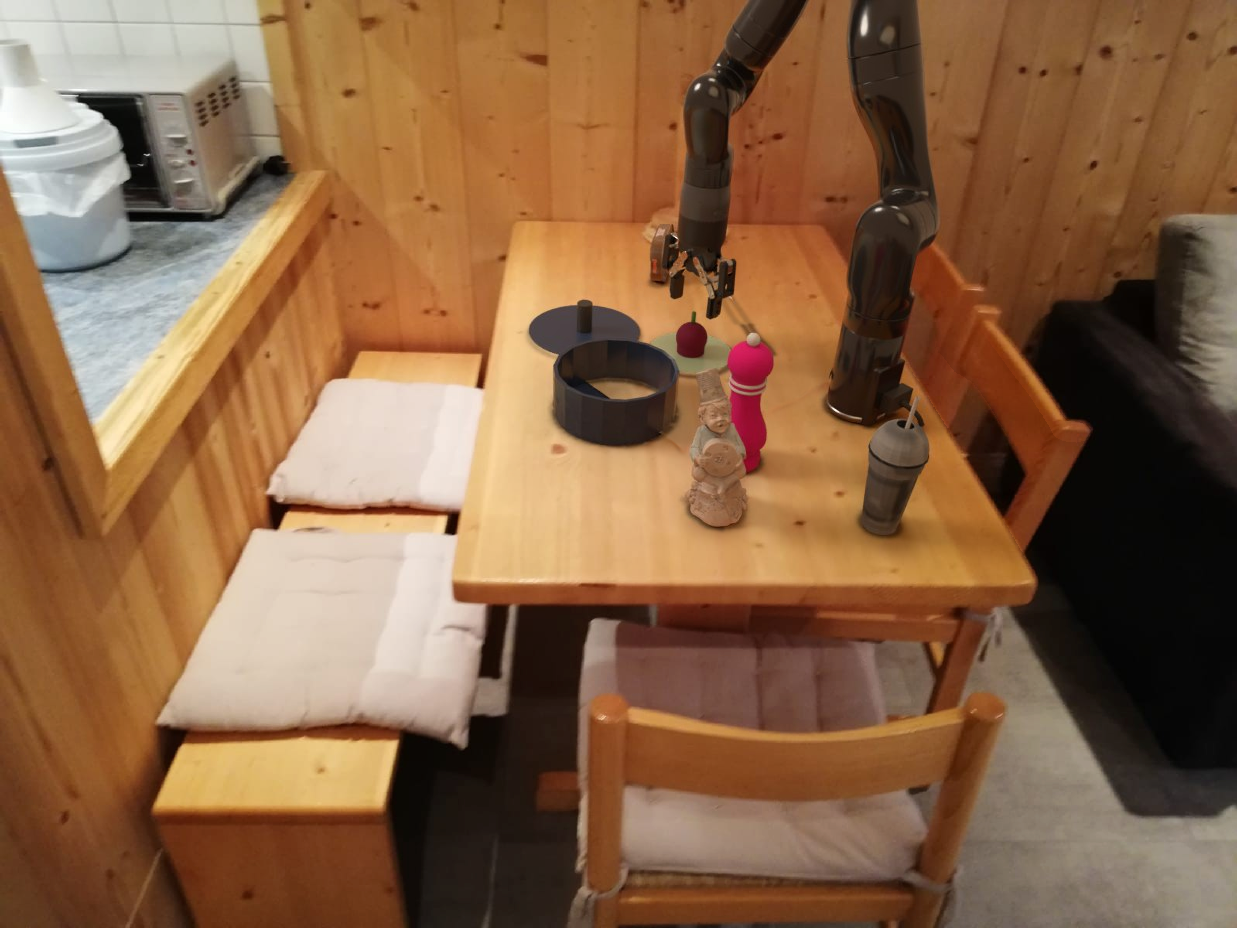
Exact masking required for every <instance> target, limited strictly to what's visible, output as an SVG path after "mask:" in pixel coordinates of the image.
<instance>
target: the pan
mask: <svg viewBox="0 0 1237 928" xmlns="http://www.w3.org/2000/svg"><path fill="white" fill-rule="evenodd" d="M600 379H625V380H629V381H630V380H631V381H636V382H639V383H643V384H645V385H646V386H649V387H651V388H654V389H655V390H658V391H655V392H653V393H650V394H649V395H645V396H639V397H633V398H627V399H624V398H611V397H609V396H608V395H607V394H605V393H603V392H602V391H601V390H599V389H598V388H596V387H595V386H593V385H591V384H590V383H589V382H588V381H595V380H600ZM552 381H553V382H552V389H553V390H552V394H553V397H552V401H553V402H552V404H553V405H552V406H553V415H554V418H555V420H556V422H557V424H559V426H560V427H561V428H562V429H564V431H565V432H567V433H568V434H570V435H571V436H573V437H576V438H577V439H580V440H581V441H586V442H589V443H593V444H597V445H603V446H613V447H614V446H618V447H619V446H621V447H622V446H631V445H638V444H642V443H646V442H649V441H652V440H654V439H656V438H659V437H660V436H662V435H663V433H662V432H664V430H666V429H667V428H668V427H669V426H670V425H671V424H672V423H673V422H674V420H675V415H676V412H677V404H678V392H679V381H680V371H679V368H678V366H677V364H676V361H675V359H673V358H672V357H671V356H670V355H669V354H667V353H666V352H665V351H664V350H662V349H660V348H657V347H655V346H653V345H651V343H648V342H645V341H641V340H637V341H635V340H631V339H619V338H603V339H596V340H588V341H585V342H582V343H579V344H576V345H573V346H571V347H569V348H568V349H566V350H565V351H563V352H562V353H561V354H559V355H558V354H557V356H556V358H555V361H554V363H553V365H552Z"/></svg>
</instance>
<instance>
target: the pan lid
mask: <svg viewBox="0 0 1237 928" xmlns="http://www.w3.org/2000/svg"><path fill="white" fill-rule="evenodd" d="M640 332H641V330H640V326H639V325H638V323H637V322H636V321H635V320H634V319H633V318H632V317H631V316H629V315H628V314H626V313H624V312H621V311H619V310H617V309H614V308H611V307H606V306H600V305H595V304H594V305H593V301H592V300H590V299H579V300H578V301H577V302H576V304H571V305H564V306H558V307H555V308H554V307H553V308H551V309H549V310H546V311H543V312H542V313H540V314H538V315H537V316H535V317H534V318H533V319H532V320H531V322H530V323H529V327H528V335H529V338H530V339H531V341H532V342H533V343H534V344H535V345H537V346H538V347H539V348H541V349H543V350H544V351H546V352H549V353H552V354H555V355H557V356H558V355H559V354H561V353H562V352H563V351H565V350H566V349H568V348H569V347H571V346H573V345H576V344H579V343H582V342H585V341H588V340H596V339H603V338H619V339H631V340H635V341H639V338H640Z"/></svg>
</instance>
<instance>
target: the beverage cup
mask: <svg viewBox="0 0 1237 928" xmlns="http://www.w3.org/2000/svg"><path fill="white" fill-rule="evenodd" d="M919 401H920V396H918V395H916V396H915V397H914V399H913V403H912V405H911V406H912V409H911V412H909V415H908V418H907V419H906V418H895V419H891V420H888V421H886V422H884V423H883V424H882V425H880V426H879V427H878V428H877V429H876V430H875V432H874V434H873V435H872V437H871V440H870V441H869V443H868V444H867V445H868V446H867V448H868V453H867V454H868V457H867V458H868V466H867V474H866V482H865V487H864V494H863V502H862V509H861V510H862V511H861V512H862V514H861V525H862V526H863V528H864V529H866V530H867V531H868V532H870V533H872V534H875V535H878V536H890V535H892V534H894V533H895V532H897V528H898V526H899V524H900V523H901V520H902V518H903V515H904V514H905V510H906V508H907V505H908V503H909V500H910V498H911V496H912V494H913V491H914V488H915V486H916V483H917V481H918V479H919V476H920V475H921V474H922V472H923V470H924V469H925V467H926V465H927V463H928V462H929V460H930V442H929V438H928V435H927V433H926V431H925V430H924V429H923V427H920V426H919V424H918V423H916V422H915V421H913V418H914V417H915V416H914V413H915V410H917V407H918V405H919Z"/></svg>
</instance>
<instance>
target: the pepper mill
mask: <svg viewBox="0 0 1237 928" xmlns="http://www.w3.org/2000/svg"><path fill="white" fill-rule="evenodd" d="M761 341H762V340H761V336H760V335H759V333H757V332H751V333H749V334H748V335H747V337H746V340H743V341H740V342H738V343H736V344H735V345H734V346H732V348H730V349H731V351H730V353H729V356H728V360H727V365H726V366H727V369H728V371H729V372H730V373H729V376H728V387H729V389H730V395H729V400H730V402H731V404H732V408H731V423H734V425H735V428H736V430H737V432H738V434H739V436H740V438H741V440H742V442H743V444H744V446H745V450H746V459H743V463H744V465H745V468H746V473H749V472H753V471H754V470H756V468H758V466H759V465H760V460H761V450H762V449H763V448H764V447H765V445H766V442H767V438H768V437H767V436H768V430H767V424H766V422H765V419H764V415H763V413H762V407H761V400H762V396H763V395H762V394H763V393H764V392H765V391H766V389H767V384H768V377H769V376H770V375H771V374H772V372H773V370H774V365H775V363H774V362H775V360H774V355H773V352H772V350H771V349H770V348H769V347H768V346H767V345H766V344H764V343H763V342H761Z"/></svg>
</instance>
